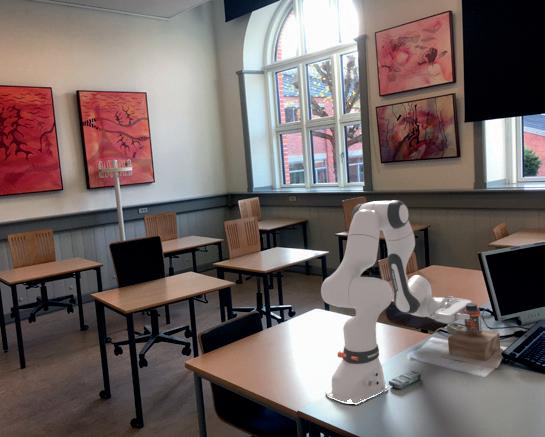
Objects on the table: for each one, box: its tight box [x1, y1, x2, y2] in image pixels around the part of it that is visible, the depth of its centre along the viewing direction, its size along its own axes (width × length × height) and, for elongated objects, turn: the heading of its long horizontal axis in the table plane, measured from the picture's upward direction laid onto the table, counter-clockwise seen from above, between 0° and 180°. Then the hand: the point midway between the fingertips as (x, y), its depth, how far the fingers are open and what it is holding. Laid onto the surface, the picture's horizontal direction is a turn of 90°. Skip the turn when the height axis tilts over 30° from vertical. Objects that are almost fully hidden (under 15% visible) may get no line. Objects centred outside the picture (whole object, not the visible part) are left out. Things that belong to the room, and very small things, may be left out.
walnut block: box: [447, 326, 501, 362], centre depth 190 cm, size 14×14×6 cm
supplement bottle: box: [463, 302, 483, 335], centre depth 189 cm, size 6×6×11 cm
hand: (474, 314), depth 188 cm, fingers closed on supplement bottle, 6 cm apart
